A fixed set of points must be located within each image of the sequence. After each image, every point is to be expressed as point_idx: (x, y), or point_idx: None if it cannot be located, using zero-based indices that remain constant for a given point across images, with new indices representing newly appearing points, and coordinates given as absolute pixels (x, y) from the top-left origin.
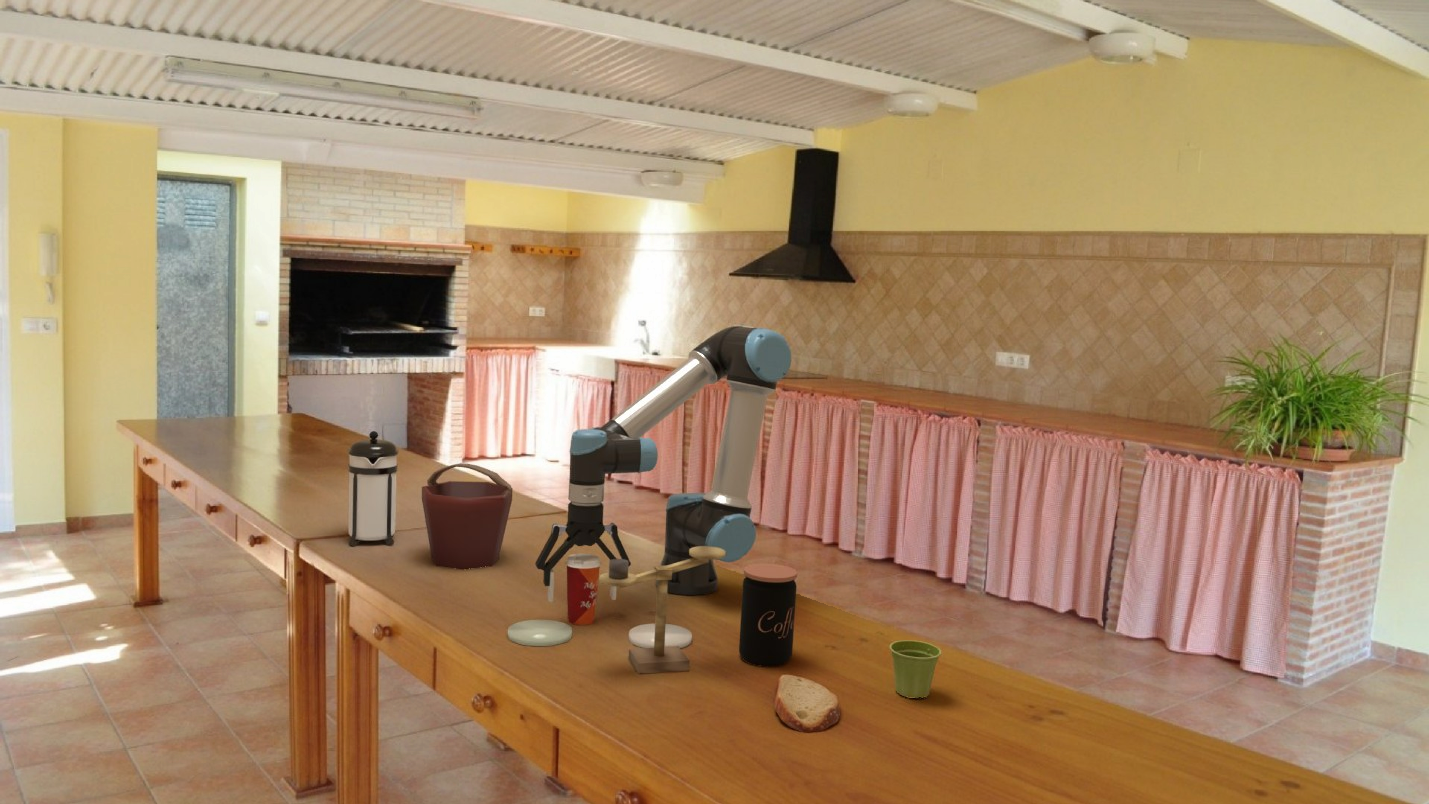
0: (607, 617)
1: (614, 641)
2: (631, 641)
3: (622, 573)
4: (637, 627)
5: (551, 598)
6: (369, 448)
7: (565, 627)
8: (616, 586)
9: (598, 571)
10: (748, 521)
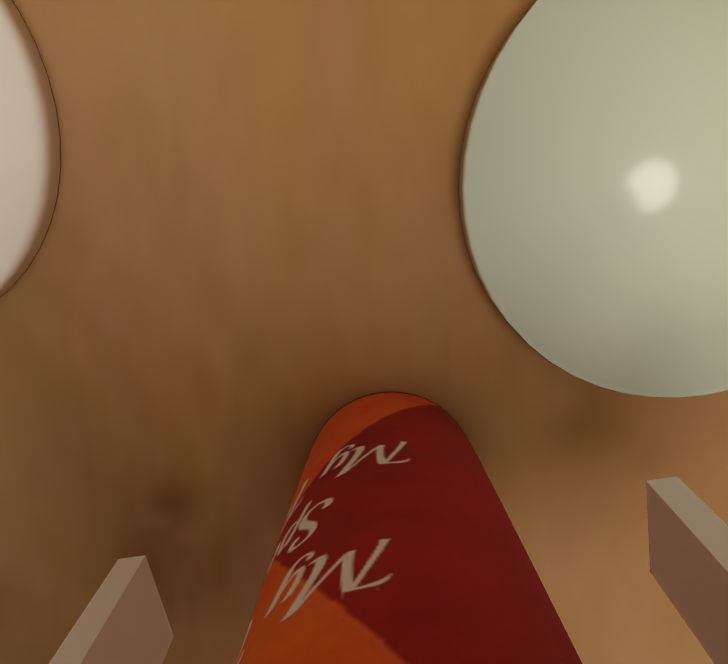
0: (230, 530)
1: (155, 63)
2: (22, 27)
3: None
4: None
5: (680, 497)
6: None
7: (510, 235)
8: (54, 657)
9: None
10: None
